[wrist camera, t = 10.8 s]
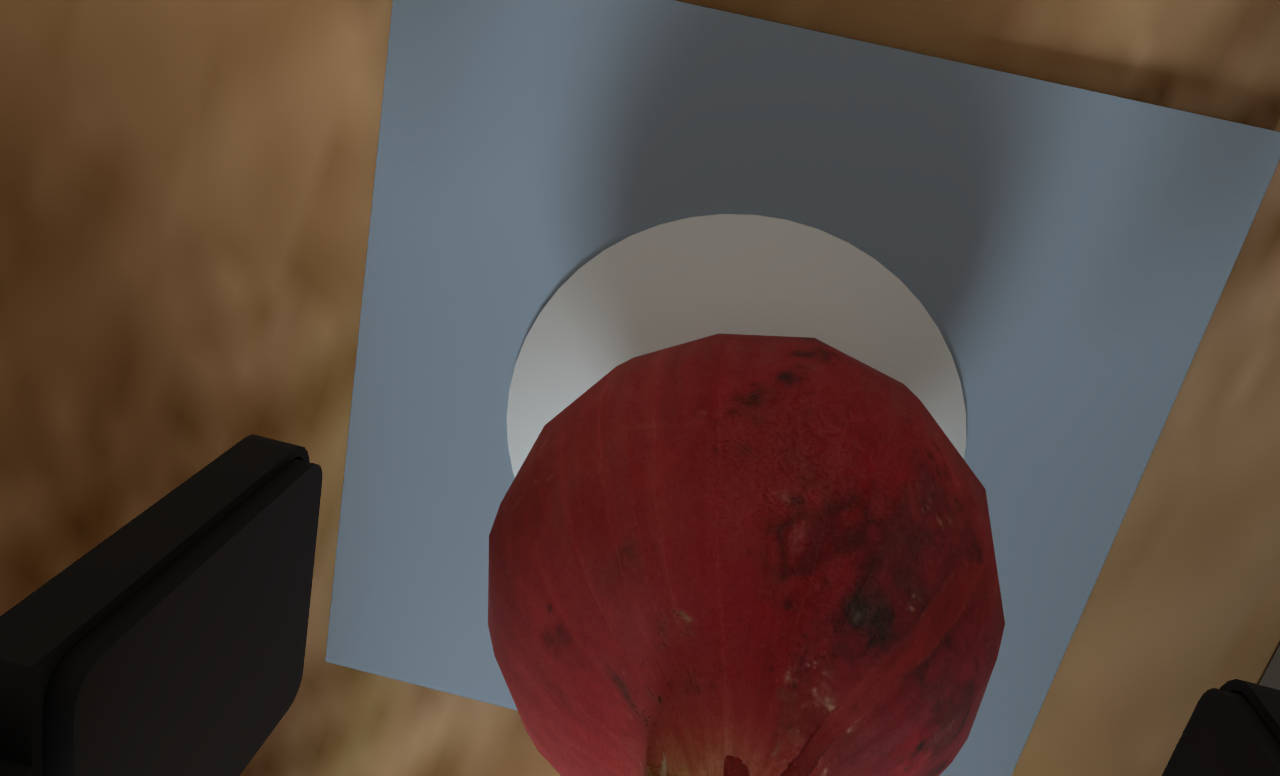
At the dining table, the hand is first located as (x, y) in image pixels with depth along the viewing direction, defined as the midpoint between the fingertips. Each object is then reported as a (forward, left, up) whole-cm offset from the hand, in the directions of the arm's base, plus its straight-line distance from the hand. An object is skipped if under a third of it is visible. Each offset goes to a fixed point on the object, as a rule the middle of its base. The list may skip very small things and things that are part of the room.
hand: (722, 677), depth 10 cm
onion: (0, 0, -6) cm, 6 cm away
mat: (0, 0, -6) cm, 6 cm away
